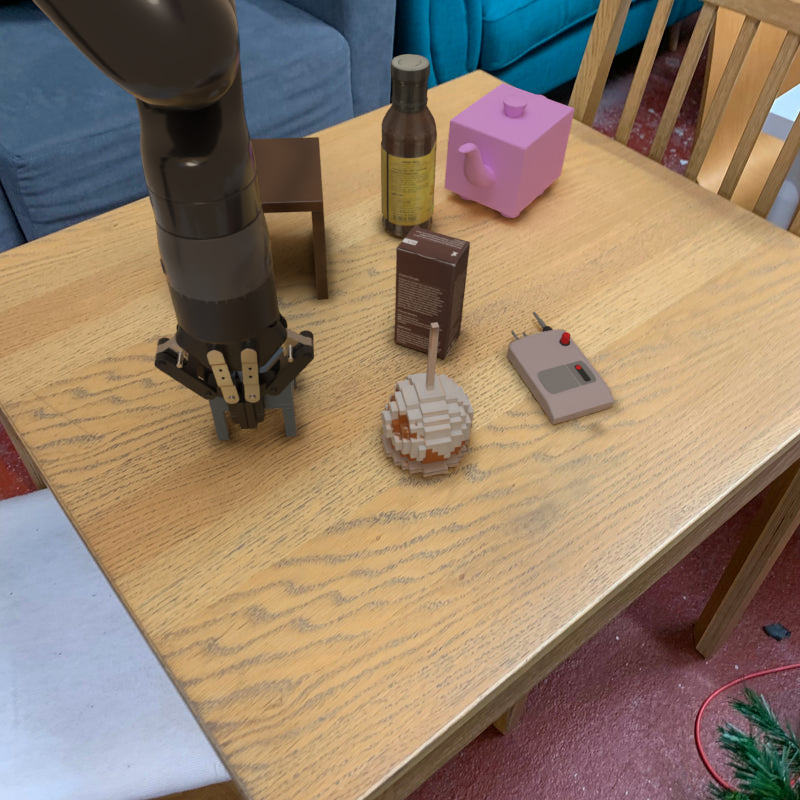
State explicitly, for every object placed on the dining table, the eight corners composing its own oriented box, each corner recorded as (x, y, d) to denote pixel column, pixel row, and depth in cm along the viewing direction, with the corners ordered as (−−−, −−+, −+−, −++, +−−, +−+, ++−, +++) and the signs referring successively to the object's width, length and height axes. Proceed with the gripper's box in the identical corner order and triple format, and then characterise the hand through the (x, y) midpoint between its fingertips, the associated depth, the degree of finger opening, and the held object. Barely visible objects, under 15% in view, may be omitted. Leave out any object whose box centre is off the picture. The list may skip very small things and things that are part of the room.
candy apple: (374, 419, 72) (375, 299, 61) (453, 407, 74) (468, 286, 62) (392, 485, 67) (397, 367, 56) (477, 471, 69) (497, 352, 57)
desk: (179, 305, 82) (154, 206, 73) (188, 238, 90) (167, 140, 81) (328, 298, 84) (323, 200, 74) (324, 232, 91) (318, 136, 82)
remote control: (562, 439, 71) (568, 418, 69) (488, 331, 81) (492, 309, 79) (622, 420, 73) (630, 400, 71) (543, 316, 83) (548, 295, 80)
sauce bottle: (442, 228, 93) (456, 66, 78) (402, 247, 90) (408, 82, 75) (409, 203, 96) (416, 43, 81) (369, 221, 93) (369, 58, 78)
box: (461, 333, 80) (472, 240, 71) (444, 361, 78) (454, 267, 69) (409, 316, 82) (413, 223, 73) (391, 342, 79) (393, 249, 70)
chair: (218, 440, 70) (204, 384, 64) (222, 383, 75) (210, 326, 69) (297, 436, 71) (290, 380, 65) (296, 379, 75) (290, 322, 70)
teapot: (501, 152, 105) (514, 61, 95) (567, 177, 101) (587, 85, 92) (417, 219, 94) (423, 124, 84) (487, 251, 90) (501, 154, 81)
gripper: (311, 228, 57) (323, 386, 70) (130, 235, 56) (176, 394, 69) (314, 293, 52) (326, 450, 65) (115, 302, 51) (167, 460, 64)
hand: (249, 421), depth 67 cm, fingers closed
